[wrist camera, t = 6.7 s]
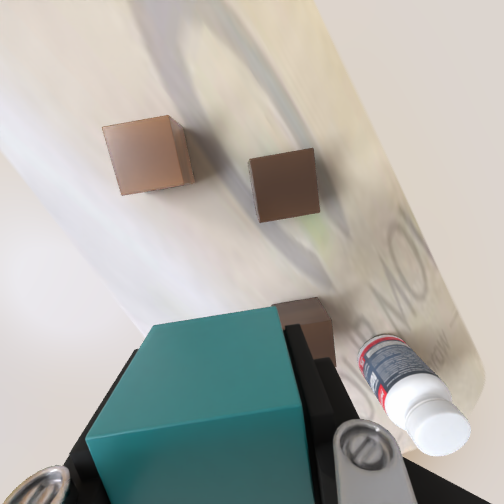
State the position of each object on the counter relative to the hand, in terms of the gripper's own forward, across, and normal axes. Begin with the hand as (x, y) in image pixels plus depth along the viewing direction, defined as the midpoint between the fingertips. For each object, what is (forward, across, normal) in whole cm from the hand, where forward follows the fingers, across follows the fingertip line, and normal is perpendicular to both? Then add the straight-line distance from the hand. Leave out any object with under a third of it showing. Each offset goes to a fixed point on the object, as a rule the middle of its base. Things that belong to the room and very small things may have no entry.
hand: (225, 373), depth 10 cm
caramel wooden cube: (+15, +4, -9) cm, 18 cm away
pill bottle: (+16, -13, +13) cm, 24 cm away
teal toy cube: (0, 0, 0) cm, 0 cm away
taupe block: (+15, -5, -6) cm, 17 cm away
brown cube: (+15, -5, +7) cm, 18 cm away
